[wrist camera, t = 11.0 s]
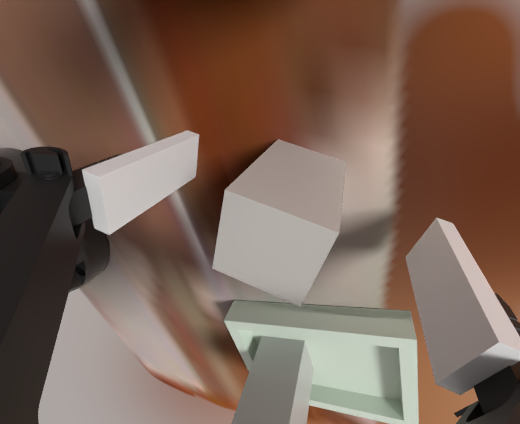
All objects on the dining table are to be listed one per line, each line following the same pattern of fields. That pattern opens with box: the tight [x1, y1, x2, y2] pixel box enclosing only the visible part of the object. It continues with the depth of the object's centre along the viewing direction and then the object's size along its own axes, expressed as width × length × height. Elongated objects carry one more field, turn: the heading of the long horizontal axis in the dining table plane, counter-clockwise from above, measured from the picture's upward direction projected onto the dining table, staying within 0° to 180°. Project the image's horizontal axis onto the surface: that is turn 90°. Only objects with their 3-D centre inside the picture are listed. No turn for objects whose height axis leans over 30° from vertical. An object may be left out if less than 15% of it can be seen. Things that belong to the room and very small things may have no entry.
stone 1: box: [212, 139, 346, 307], centre depth 12 cm, size 4×4×7 cm
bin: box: [224, 300, 419, 424], centre depth 21 cm, size 14×11×2 cm
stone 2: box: [232, 336, 314, 424], centre depth 20 cm, size 4×4×7 cm
